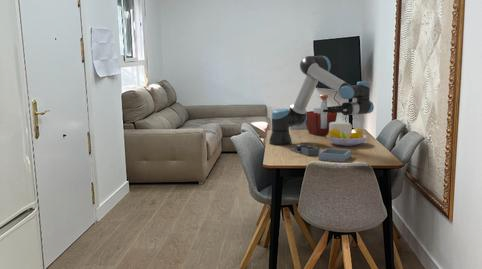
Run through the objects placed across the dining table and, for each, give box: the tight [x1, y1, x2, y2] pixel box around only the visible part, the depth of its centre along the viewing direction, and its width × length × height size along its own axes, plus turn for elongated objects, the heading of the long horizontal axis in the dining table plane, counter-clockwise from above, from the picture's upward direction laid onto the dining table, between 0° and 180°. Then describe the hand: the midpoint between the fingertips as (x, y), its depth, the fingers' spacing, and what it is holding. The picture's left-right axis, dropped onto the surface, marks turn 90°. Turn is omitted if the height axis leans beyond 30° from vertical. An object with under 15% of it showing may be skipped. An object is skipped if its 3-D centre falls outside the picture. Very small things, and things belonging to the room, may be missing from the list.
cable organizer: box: [329, 121, 353, 133], centre depth 343 cm, size 15×11×12 cm
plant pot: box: [304, 110, 338, 136], centre depth 366 cm, size 19×19×17 cm
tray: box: [318, 148, 352, 163], centre depth 275 cm, size 15×15×4 cm
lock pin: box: [319, 94, 329, 129], centre depth 277 cm, size 5×5×19 cm
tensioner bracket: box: [290, 143, 321, 157], centre depth 293 cm, size 20×9×4 cm, turn 23°
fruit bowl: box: [325, 128, 368, 147], centre depth 318 cm, size 28×27×11 cm
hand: (315, 110), depth 275 cm, fingers closed on lock pin, 3 cm apart
